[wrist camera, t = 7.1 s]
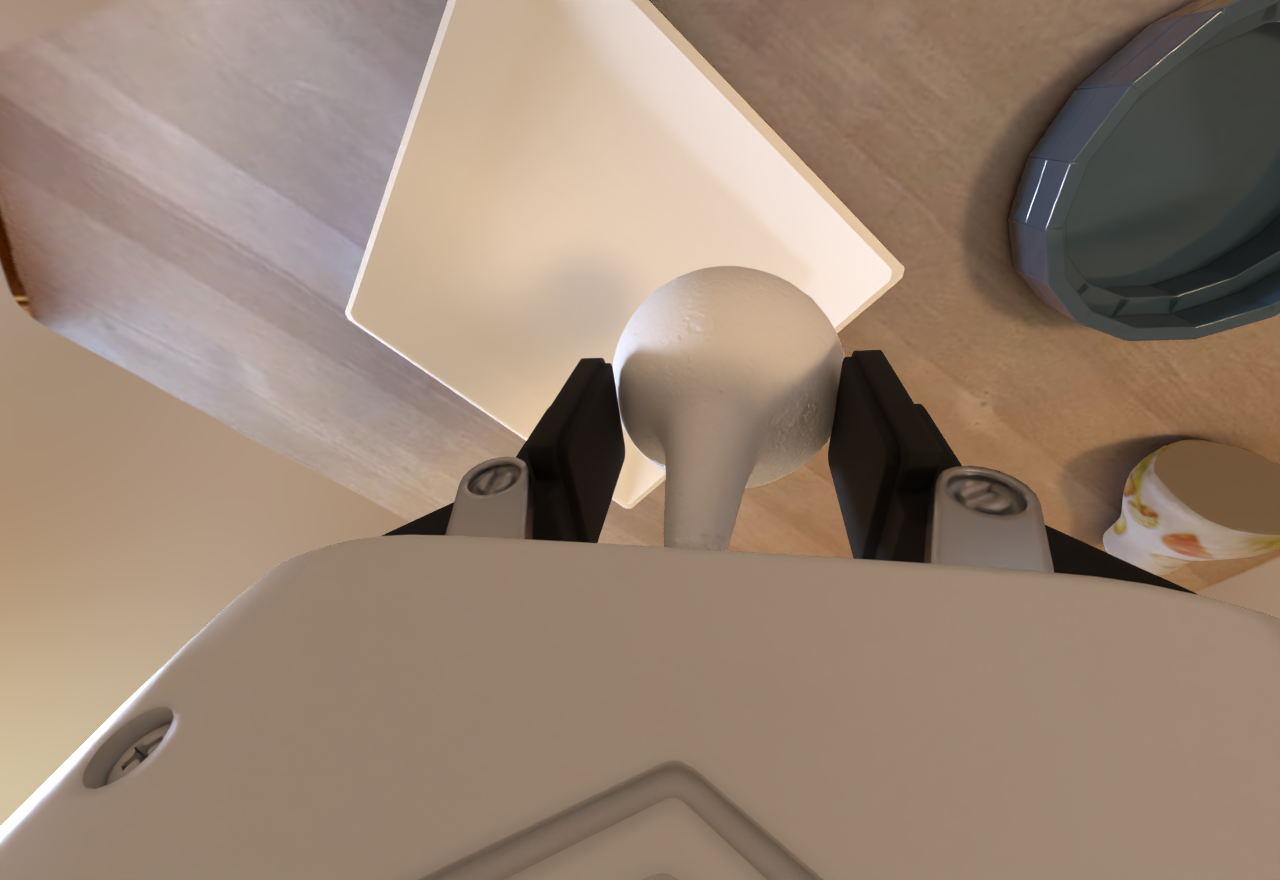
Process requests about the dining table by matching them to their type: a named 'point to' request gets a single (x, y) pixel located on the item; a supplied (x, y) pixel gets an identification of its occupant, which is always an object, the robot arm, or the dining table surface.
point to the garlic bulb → (725, 391)
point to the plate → (582, 203)
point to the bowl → (1163, 182)
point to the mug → (1197, 507)
